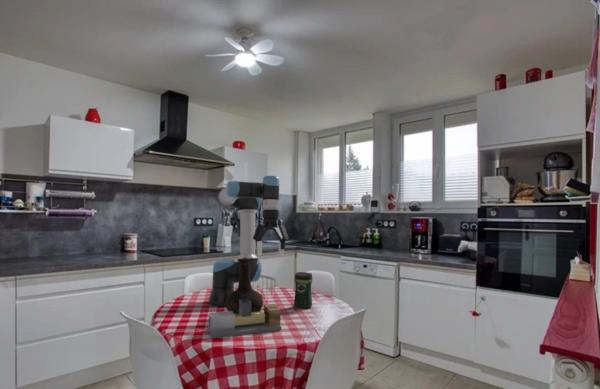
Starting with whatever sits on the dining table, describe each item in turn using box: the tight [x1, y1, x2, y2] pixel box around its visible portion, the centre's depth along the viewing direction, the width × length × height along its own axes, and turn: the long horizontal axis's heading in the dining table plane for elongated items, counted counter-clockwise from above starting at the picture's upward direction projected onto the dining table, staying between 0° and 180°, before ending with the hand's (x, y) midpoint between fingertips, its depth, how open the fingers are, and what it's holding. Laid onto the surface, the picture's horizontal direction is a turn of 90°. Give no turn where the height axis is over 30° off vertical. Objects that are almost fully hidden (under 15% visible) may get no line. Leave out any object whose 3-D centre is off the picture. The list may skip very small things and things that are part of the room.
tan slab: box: [235, 299, 265, 326], centre depth 148 cm, size 6×21×10 cm, turn 113°
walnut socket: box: [263, 303, 282, 327], centre depth 153 cm, size 9×5×7 cm, turn 23°
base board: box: [206, 322, 282, 339], centre depth 148 cm, size 12×30×2 cm, turn 113°
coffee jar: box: [293, 271, 313, 309], centre depth 185 cm, size 10×8×19 cm
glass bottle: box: [225, 258, 264, 314], centre depth 167 cm, size 18×18×28 cm
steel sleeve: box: [207, 310, 235, 332], centre depth 145 cm, size 6×10×6 cm, turn 113°
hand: (270, 256), depth 154 cm, fingers open, 13 cm apart
